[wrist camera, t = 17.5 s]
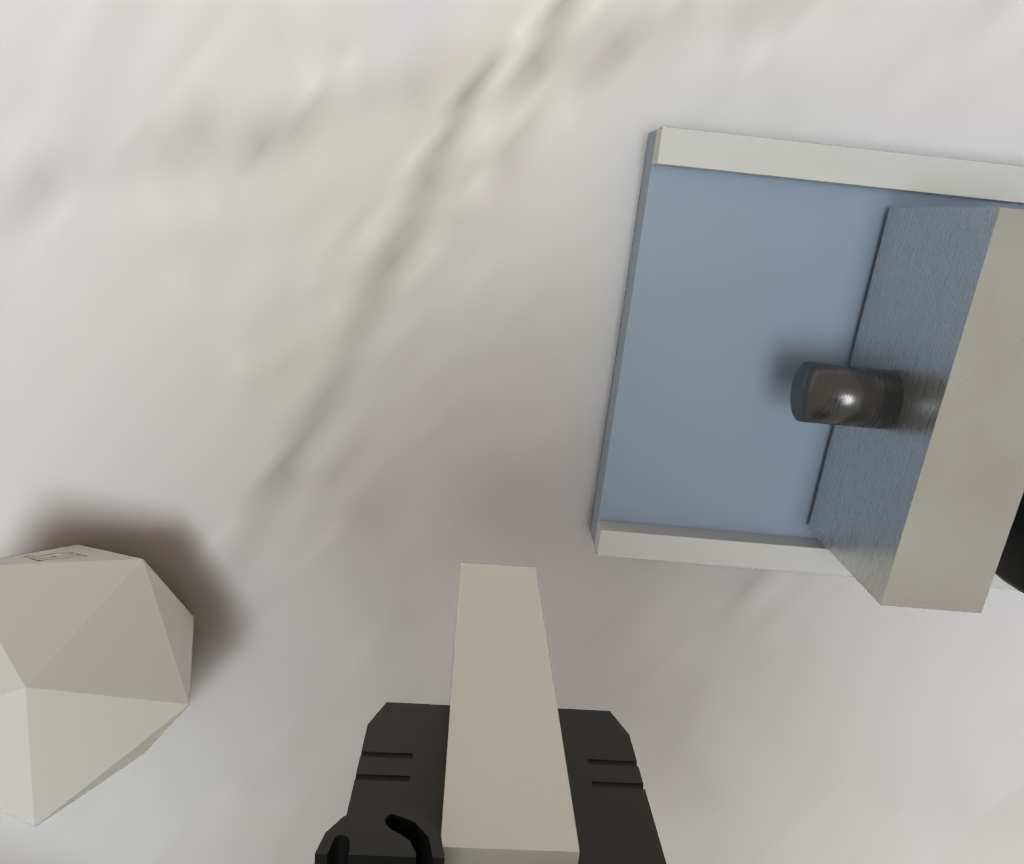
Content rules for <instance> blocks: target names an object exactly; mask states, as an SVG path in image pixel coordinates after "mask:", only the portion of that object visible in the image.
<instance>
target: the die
mask: <svg viewBox="0 0 1024 864" xmlns="http://www.w3.org/2000/svg"><path fill="white" fill-rule="evenodd" d="M193 627H194V616H193V615H192V614H191V613H190V612H189V611H188V610H187V608H186V607H185V606H184V605H183V604H182V603H181V602H180V600H179V599H178V598H177V597H176V596H175V595H174V594H173V592H172V591H171V590H170V589H169V588H168V587H167V586H166V585H165V583H164V582H163V581H162V580H161V579H160V578H159V577H158V575H157V574H156V573H155V572H154V571H153V570H152V569H151V567H150V566H149V565H148V564H147V563H146V562H145V561H144V560H143V559H141V558H136V557H132V556H127V555H123V554H118V553H114V552H110V551H105V550H101V549H96V548H92V547H87V546H83V545H72V546H66V547H61V548H55V549H50V550H44V551H39V552H33V553H28V554H22V555H17V556H11V557H6V558H0V810H2V811H4V812H6V813H8V814H10V815H12V816H14V817H16V818H17V819H19V820H21V821H23V822H25V823H27V824H29V825H31V826H33V827H36V826H37V825H39V824H40V823H42V822H43V821H45V820H46V819H48V818H49V817H51V816H52V815H54V814H55V813H57V812H58V811H60V810H61V809H62V808H64V807H65V806H67V805H68V804H70V803H71V802H73V801H74V800H76V799H77V798H79V797H80V796H82V795H83V794H85V793H86V792H88V791H89V790H91V789H92V788H94V787H95V786H96V785H98V784H99V783H101V782H102V781H104V780H105V779H107V778H108V777H110V776H111V775H113V774H114V773H116V772H117V771H119V770H120V769H122V768H123V767H125V766H126V765H128V764H129V763H130V762H132V761H133V760H135V759H136V758H138V757H139V756H141V755H142V754H144V753H145V751H146V750H147V749H148V748H149V747H150V746H151V745H152V744H153V743H154V742H155V741H156V740H157V739H158V737H159V736H160V735H161V734H162V733H163V732H164V731H165V730H166V729H167V728H168V727H169V726H170V725H171V724H172V722H173V721H174V720H175V719H176V718H177V717H178V716H179V715H180V714H181V713H182V712H183V711H184V710H185V709H186V707H187V706H188V705H189V699H190V681H191V663H192V645H193Z"/></svg>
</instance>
